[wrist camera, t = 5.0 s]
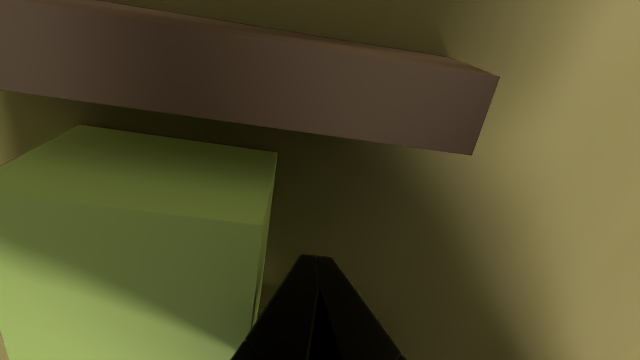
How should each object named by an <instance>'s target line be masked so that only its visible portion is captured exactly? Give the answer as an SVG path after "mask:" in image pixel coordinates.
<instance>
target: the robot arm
mask: <svg viewBox="0 0 640 360" xmlns="http://www.w3.org/2000/svg"><path fill="white" fill-rule="evenodd" d="M401 355H402V354H401V352H400V350H399V349H398V348H397V346H396V345H395V344H394V342H393V341H392V339H391V338H390V337H389V335H388V334H387V333H386V331H385V330H384V329H383V327H382V326H381V324H380V323H379V322H378V320H377V319H376V318H375V316H374V315H373V313H372V312H371V311H370V309H369V308H368V307H367V305H366V304H365V302H364V301H363V300H362V298H361V297H360V296H359V294H358V293H357V291H356V290H355V289H354V287H353V286H352V285H351V283H350V282H349V281H348V279H347V278H346V276H345V275H344V274H343V272H342V271H341V270H340V268H339V267H338V265H337V264H336V263H335V261H334V260H333V259H332V258H331V257H324V256H317V257H316V256H315V255H307V254H301V255H300V256H299V258H298V259H297V261H296V262H295V264H294V265H293V267H292V268H291V270H290V271H289V273H288V274H287V276H286V277H285V279H284V280H283V282H282V283H281V285H280V286H279V288H278V289H277V291H276V292H275V294H274V295H273V297H272V298H271V300H270V301H269V303H268V304H267V306H266V307H265V309H264V310H263V312H262V313H261V315H260V316H259V318H258V319H257V321H256V322H255V324H254V325H253V327H252V328H251V330H250V331H249V333H248V334H247V336H246V338H245V340H244V341H243V342H242V343H241V345H240V346H239V348H238V349H237V351H236V352H235V354H234V355H233V356H232V358H231V359H230V360H406V358H405V357H404V356H401Z"/></svg>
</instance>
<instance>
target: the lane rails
mask: <svg viewBox="0 0 640 360" xmlns="http://www.w3.org/2000/svg"><path fill="white" fill-rule="evenodd" d="M499 78H500V77H498V76H496V75H493V74H491V73H488V72H486V71H483V70H480V69H478V68H475V67H473V66H470V65H468V64H465V63H463V62H460V61H458V60H455V59H452V58H449V57H442V56H436V55H430V54H424V53H418V52H412V51H406V50H399V49H393V48H387V47H381V46H375V45H369V44H363V43H356V42H350V41H344V40H338V39H332V38H326V37H320V36H313V35H307V34H301V33H295V32H289V31H283V30H277V29H270V28H264V27H258V26H252V25H246V24H240V23H234V22H227V21H221V20H215V19H209V18H203V17H197V16H191V15H184V14H178V13H172V12H166V11H160V10H154V9H148V8H141V7H135V6H129V5H123V4H117V3H111V2H105V1H98V0H0V90H5V91H12V92H19V93H26V94H33V95H41V96H48V97H55V98H62V99H69V100H77V101H84V102H91V103H98V104H105V105H112V106H120V107H127V108H134V109H141V110H148V111H156V112H163V113H170V114H177V115H184V116H192V117H199V118H206V119H213V120H220V121H227V122H235V123H242V124H249V125H256V126H263V127H271V128H278V129H285V130H292V131H299V132H307V133H314V134H321V135H328V136H335V137H342V138H350V139H357V140H364V141H371V142H378V143H386V144H393V145H400V146H407V147H414V148H422V149H429V150H436V151H443V152H450V153H457V154H465V155H472V153H473V151H474V148H475V145H476V142H477V140H478V137H479V134H480V131H481V128H482V126H483V123H484V120H485V117H486V114H487V112H488V109H489V106H490V103H491V100H492V98H493V95H494V92H495V89H496V86H497V84H498V81H499Z"/></svg>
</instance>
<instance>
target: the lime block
mask: <svg viewBox="0 0 640 360" xmlns="http://www.w3.org/2000/svg"><path fill="white" fill-rule="evenodd" d="M277 156H278V153H277V152H270V151H263V150H256V149H249V148H242V147H234V146H227V145H220V144H213V143H206V142H199V141H192V140H185V139H178V138H171V137H163V136H156V135H149V134H142V133H135V132H128V131H121V130H114V129H107V128H100V127H92V126H85V125H77V126H75V127H73V128H72V129H70V130H68V131H66V132H64V133H62V134H60V135H58V136H56V137H54V138H53V139H51V140H49V141H47V142H45V143H43V144H41V145H39V146H37V147H36V148H34V149H32V150H30V151H28V152H26V153H24V154H22V155H20V156H19V157H17V158H15V159H13V160H11V161H9V162H7V163H5V164H3V165H1V166H0V330H1V334H2V337H3V341H4V344H5V347H6V351H7V354H8V357H9V360H230V359H231V358H232V356H233V355H234V354H235V352H236V351H237V349H238V348H239V346H240V345H241V343H242V342H243V341H244V340H245V338H246V336H247V334H248V333H249V331H250V330H251V328H252V327H253V325H254V324H255V322H256V320H257V314H258V308H259V302H260V296H261V288H262V280H263V272H264V263H265V255H266V247H267V238H268V230H269V222H270V214H271V205H272V197H273V189H274V180H275V172H276V164H277Z"/></svg>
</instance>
